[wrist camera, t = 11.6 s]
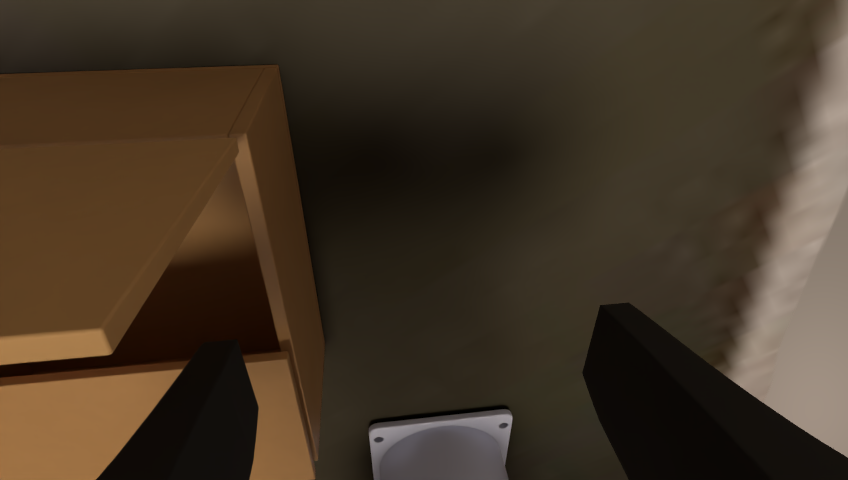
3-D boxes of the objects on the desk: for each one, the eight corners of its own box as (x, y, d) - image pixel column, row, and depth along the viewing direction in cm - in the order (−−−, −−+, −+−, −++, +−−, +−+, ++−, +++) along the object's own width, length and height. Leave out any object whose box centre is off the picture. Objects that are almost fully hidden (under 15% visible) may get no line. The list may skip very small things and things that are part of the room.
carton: (-165, 79, 14) (-482, 183, 9) (278, 63, 16) (239, 146, 10) (33, 370, 22) (-74, 527, 16) (325, 343, 23) (317, 480, 17)
